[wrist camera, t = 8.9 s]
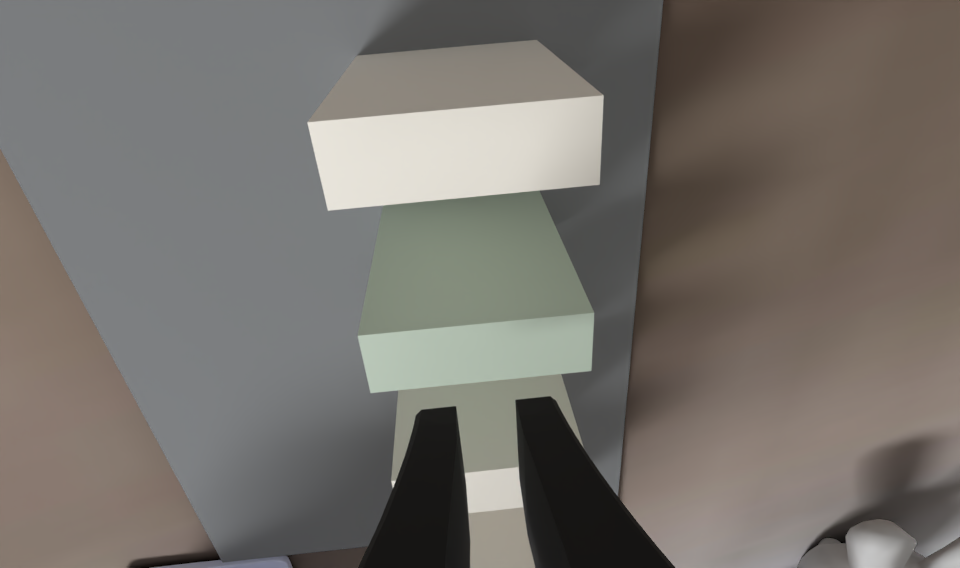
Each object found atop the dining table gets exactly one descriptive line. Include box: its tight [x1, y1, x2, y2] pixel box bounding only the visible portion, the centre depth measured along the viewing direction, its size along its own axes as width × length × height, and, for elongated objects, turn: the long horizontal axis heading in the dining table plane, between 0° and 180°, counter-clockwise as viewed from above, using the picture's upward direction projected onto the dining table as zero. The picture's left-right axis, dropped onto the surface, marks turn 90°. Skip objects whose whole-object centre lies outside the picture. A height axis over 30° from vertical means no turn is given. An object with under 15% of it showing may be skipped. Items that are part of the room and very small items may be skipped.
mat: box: [0, 0, 663, 563], centre depth 20 cm, size 26×19×1 cm
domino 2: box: [358, 191, 594, 393], centre depth 15 cm, size 2×5×7 cm, turn 94°
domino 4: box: [468, 507, 535, 568], centre depth 20 cm, size 2×5×7 cm, turn 94°
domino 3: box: [391, 374, 584, 513], centre depth 17 cm, size 2×5×7 cm, turn 94°
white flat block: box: [307, 40, 604, 211], centre depth 13 cm, size 2×5×7 cm, turn 94°
